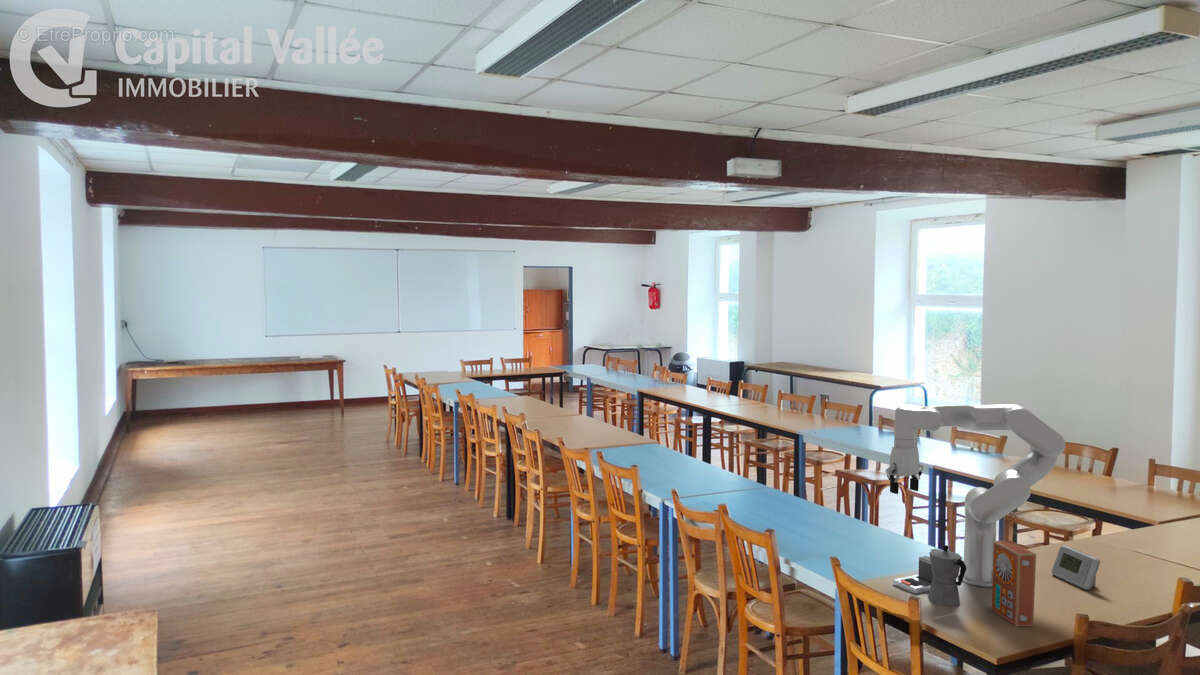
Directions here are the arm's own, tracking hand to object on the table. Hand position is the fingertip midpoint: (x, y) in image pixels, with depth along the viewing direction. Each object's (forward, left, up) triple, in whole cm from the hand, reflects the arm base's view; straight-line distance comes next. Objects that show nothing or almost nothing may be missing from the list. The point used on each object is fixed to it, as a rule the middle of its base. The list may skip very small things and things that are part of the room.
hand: (904, 491), depth 265 cm
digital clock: (-53, -19, -29) cm, 63 cm away
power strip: (-8, +12, -28) cm, 31 cm away
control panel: (-34, +25, -28) cm, 51 cm away
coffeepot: (-16, +23, -28) cm, 40 cm away
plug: (-9, +9, -28) cm, 31 cm away
